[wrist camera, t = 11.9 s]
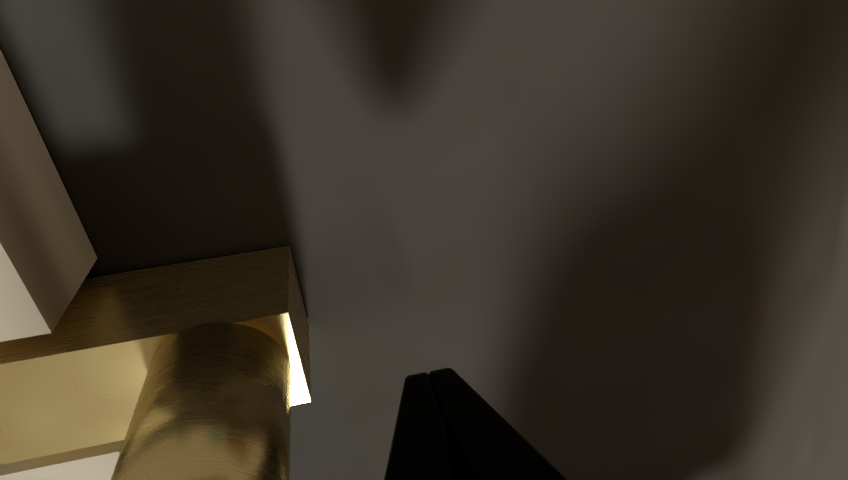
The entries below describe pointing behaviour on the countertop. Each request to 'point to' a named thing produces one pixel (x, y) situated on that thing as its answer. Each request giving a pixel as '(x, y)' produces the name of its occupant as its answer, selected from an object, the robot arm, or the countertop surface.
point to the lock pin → (167, 371)
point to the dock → (39, 265)
